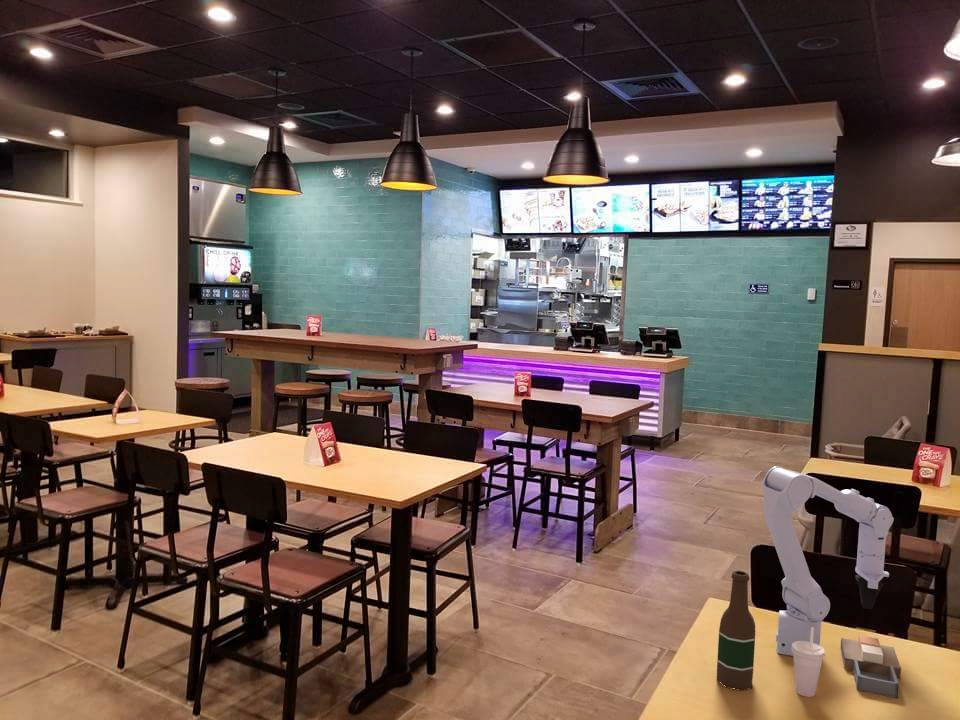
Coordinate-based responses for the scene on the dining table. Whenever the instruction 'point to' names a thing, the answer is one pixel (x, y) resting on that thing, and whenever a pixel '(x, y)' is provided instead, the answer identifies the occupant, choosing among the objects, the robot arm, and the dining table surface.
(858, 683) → the tray
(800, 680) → the smoothie
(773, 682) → the dining table surface
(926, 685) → the dining table surface
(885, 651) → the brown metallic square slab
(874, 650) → the cream tile
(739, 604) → the beer bottle
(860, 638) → the terracotta tile
